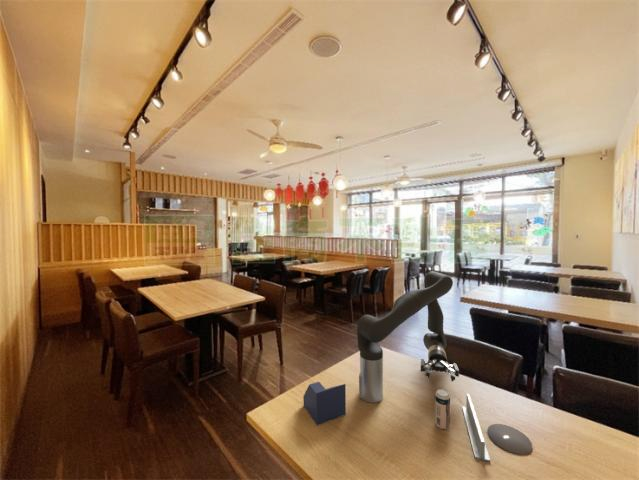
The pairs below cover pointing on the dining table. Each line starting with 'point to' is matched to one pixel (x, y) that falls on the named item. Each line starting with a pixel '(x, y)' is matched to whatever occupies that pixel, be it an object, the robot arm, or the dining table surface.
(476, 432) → the low wall
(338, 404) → the phone stand
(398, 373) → the dining table surface
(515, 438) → the coaster
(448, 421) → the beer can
